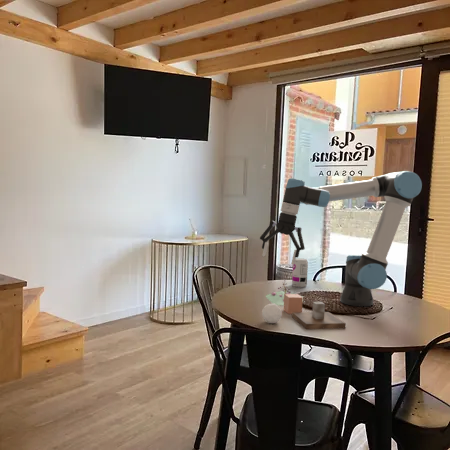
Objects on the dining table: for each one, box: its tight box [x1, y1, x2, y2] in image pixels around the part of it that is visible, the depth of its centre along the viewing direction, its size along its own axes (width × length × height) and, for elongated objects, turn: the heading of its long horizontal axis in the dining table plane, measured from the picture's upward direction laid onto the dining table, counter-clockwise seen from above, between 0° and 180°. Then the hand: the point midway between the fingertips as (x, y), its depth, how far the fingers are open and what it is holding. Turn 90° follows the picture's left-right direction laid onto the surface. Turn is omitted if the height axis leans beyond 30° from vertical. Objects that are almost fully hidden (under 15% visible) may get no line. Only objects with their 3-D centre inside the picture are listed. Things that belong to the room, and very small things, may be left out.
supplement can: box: [291, 257, 309, 288], centre depth 247 cm, size 8×8×15 cm
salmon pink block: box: [283, 293, 304, 315], centre depth 192 cm, size 6×6×7 cm
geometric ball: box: [261, 303, 283, 324], centre depth 175 cm, size 8×8×8 cm
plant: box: [265, 280, 304, 307], centre depth 215 cm, size 25×21×9 cm
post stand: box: [291, 301, 347, 330], centre depth 178 cm, size 16×16×8 cm
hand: (278, 260), depth 197 cm, fingers open, 13 cm apart
